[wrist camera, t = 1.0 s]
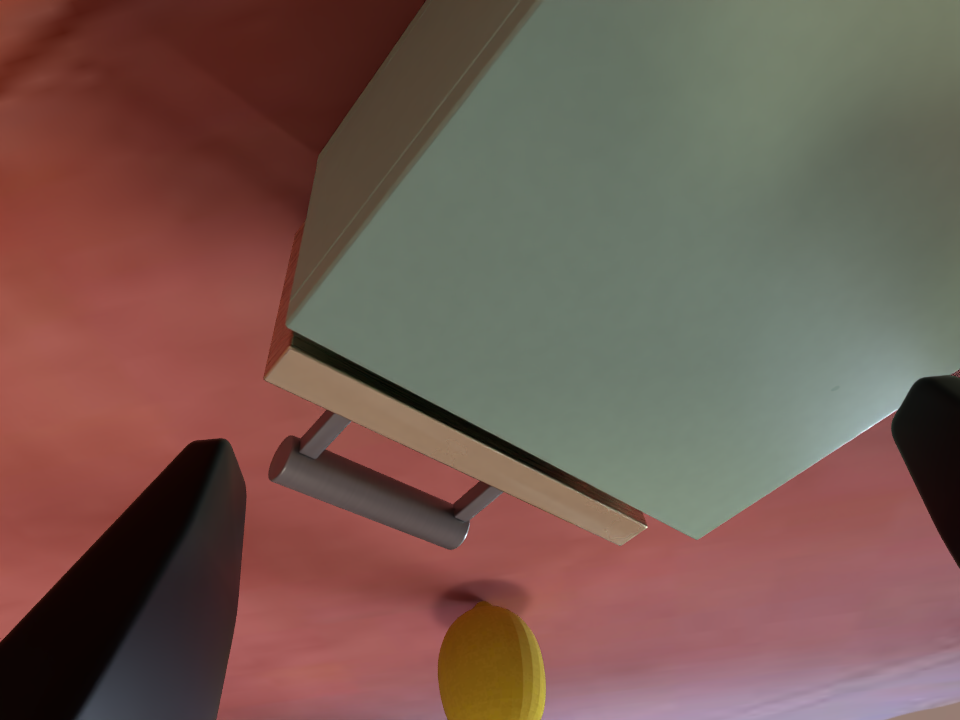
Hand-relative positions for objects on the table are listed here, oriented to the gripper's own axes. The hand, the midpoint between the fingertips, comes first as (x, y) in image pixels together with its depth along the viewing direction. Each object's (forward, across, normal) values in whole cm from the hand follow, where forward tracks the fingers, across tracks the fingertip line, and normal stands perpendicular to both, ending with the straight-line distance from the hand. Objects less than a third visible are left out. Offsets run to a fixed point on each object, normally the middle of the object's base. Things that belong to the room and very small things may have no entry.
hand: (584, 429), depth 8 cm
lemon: (+14, 0, +28) cm, 31 cm away
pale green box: (+13, -5, 0) cm, 14 cm away
